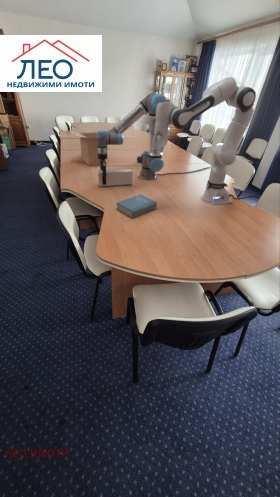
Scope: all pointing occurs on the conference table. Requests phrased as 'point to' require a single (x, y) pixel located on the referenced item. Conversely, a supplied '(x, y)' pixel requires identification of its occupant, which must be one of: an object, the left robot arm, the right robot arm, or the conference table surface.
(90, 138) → the box
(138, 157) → the laser sight
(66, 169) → the conference table surface
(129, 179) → the long box
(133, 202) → the book
